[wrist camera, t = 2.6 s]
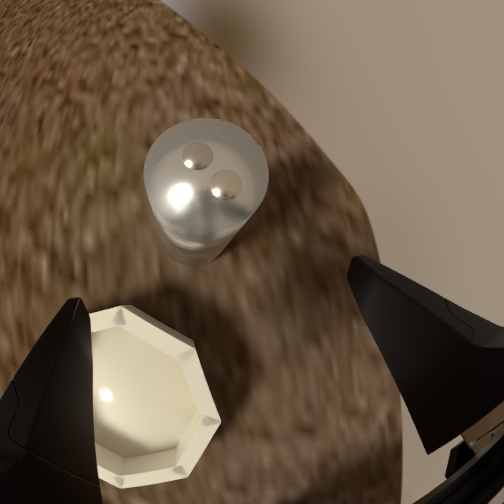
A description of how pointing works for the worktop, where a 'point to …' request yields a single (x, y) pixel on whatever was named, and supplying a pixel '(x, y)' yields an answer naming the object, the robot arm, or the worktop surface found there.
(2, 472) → the robot arm
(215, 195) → the canister
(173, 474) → the bowl
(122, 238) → the worktop surface
